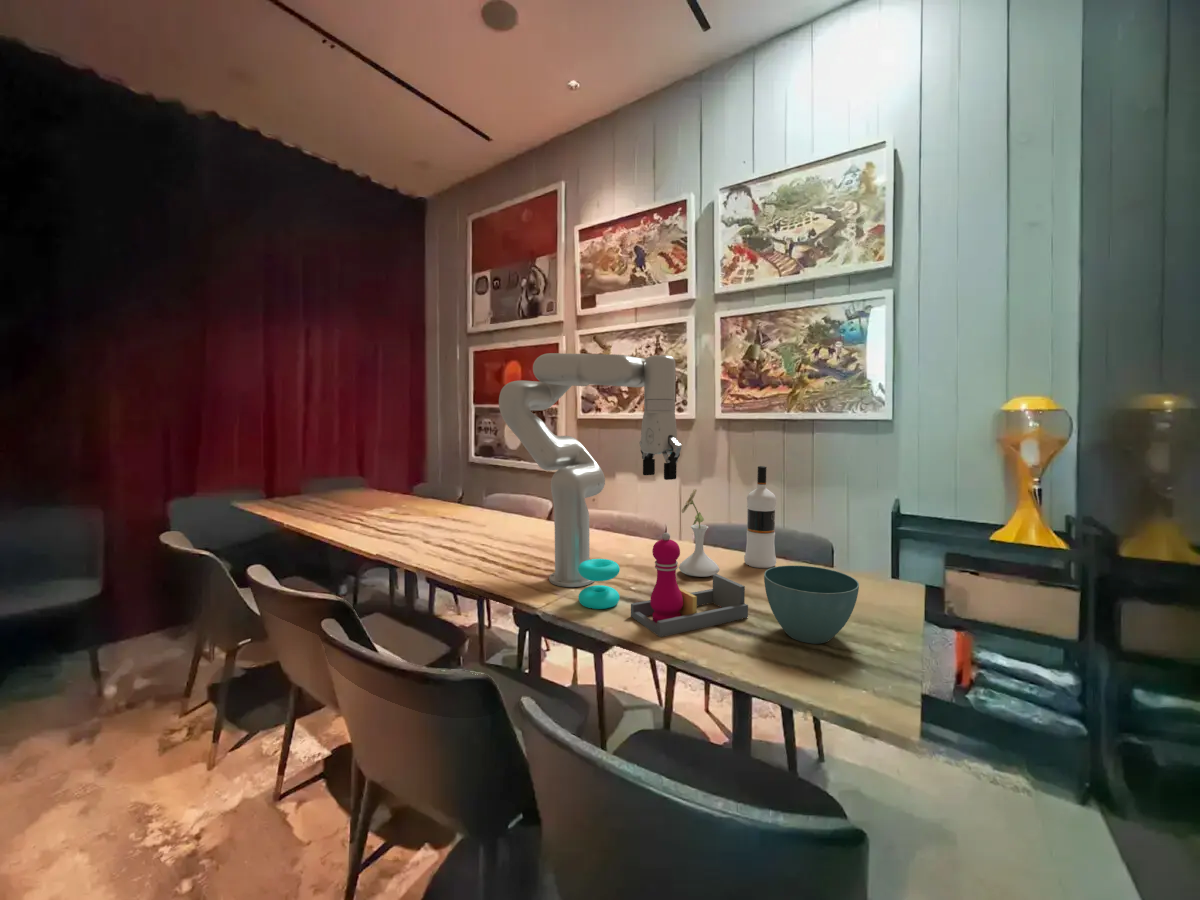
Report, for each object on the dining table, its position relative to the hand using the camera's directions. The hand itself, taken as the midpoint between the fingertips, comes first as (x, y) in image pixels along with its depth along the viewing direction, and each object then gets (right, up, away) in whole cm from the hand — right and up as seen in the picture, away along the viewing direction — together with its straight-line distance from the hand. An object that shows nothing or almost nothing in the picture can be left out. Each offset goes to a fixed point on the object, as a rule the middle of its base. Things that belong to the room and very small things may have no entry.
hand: (659, 477), depth 132 cm
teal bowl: (+29, -32, -20) cm, 48 cm away
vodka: (+34, -28, +31) cm, 54 cm away
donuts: (-15, -31, -2) cm, 34 cm away
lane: (+6, -31, -11) cm, 33 cm away
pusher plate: (+4, -31, -11) cm, 33 cm away
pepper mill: (0, -32, -13) cm, 34 cm away
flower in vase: (+13, -29, +21) cm, 38 cm away
